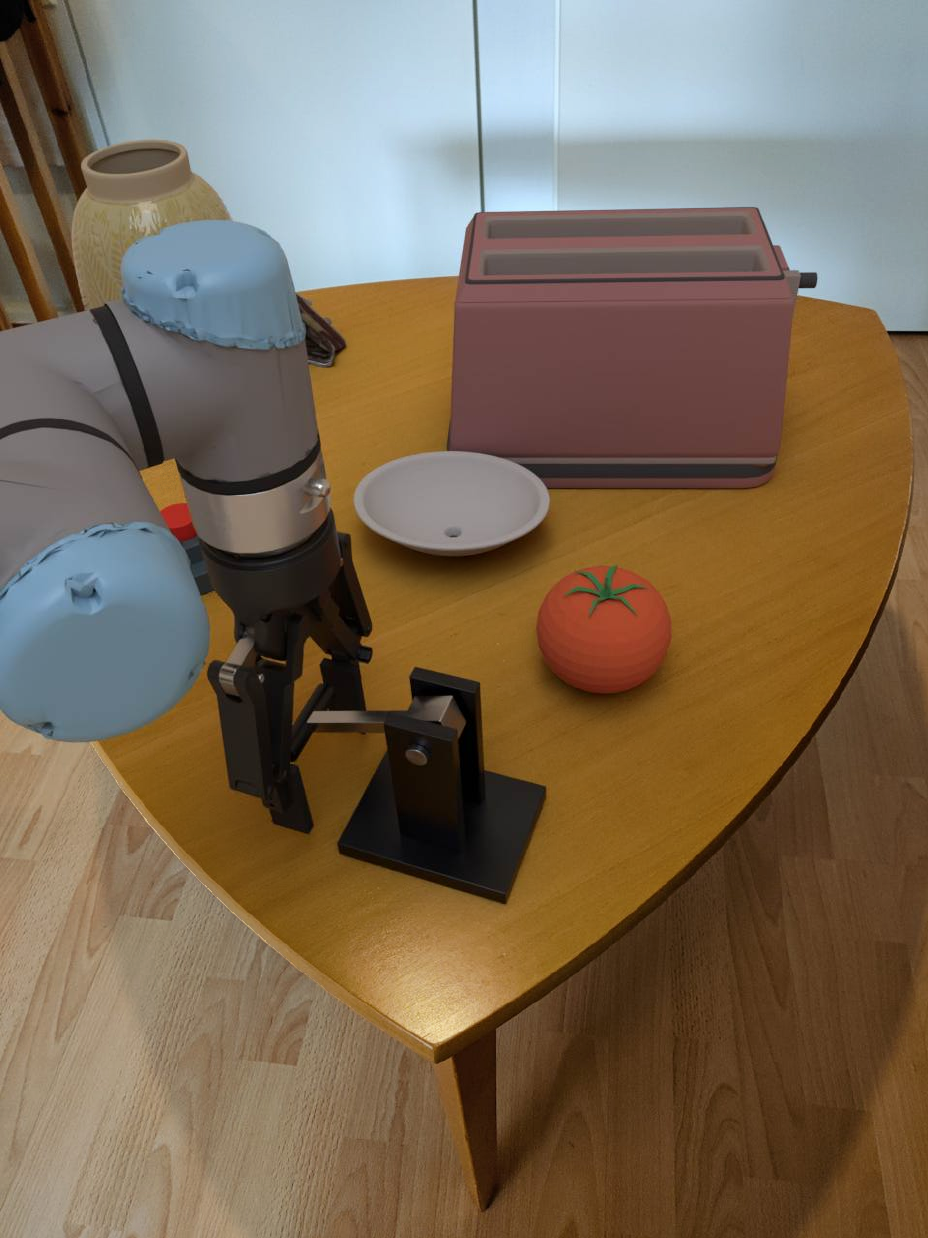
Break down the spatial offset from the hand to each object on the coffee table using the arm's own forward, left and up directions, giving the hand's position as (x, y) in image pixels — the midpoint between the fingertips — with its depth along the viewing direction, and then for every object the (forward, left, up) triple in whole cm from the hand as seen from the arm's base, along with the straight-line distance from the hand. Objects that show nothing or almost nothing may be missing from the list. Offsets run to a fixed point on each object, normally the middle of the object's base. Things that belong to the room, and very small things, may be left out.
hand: (323, 773), depth 70 cm
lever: (+5, 0, +6) cm, 8 cm away
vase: (-36, +42, -2) cm, 56 cm away
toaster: (+9, +50, -2) cm, 51 cm away
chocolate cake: (-31, +59, -2) cm, 67 cm away
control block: (-23, +19, -2) cm, 31 cm away
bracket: (+9, 0, -2) cm, 9 cm away
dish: (-1, +29, -2) cm, 30 cm away
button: (-23, +19, +1) cm, 30 cm away
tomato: (+16, +17, -2) cm, 24 cm away
